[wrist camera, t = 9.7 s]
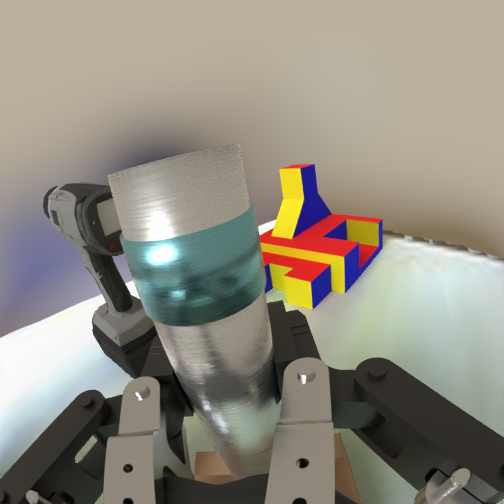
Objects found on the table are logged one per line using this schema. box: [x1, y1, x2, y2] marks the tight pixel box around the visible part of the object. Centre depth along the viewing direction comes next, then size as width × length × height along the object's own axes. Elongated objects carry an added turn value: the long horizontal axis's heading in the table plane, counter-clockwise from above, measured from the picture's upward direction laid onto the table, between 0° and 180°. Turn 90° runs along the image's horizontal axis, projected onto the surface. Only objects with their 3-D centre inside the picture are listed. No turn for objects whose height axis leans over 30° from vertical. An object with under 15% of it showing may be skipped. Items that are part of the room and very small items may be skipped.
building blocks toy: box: [259, 164, 382, 310], centre depth 50 cm, size 19×25×18 cm
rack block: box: [194, 433, 361, 504], centre depth 15 cm, size 12×10×2 cm
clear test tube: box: [108, 144, 281, 480], centre depth 9 cm, size 3×3×16 cm
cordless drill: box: [43, 182, 158, 379], centre depth 34 cm, size 8×24×25 cm, turn 54°
